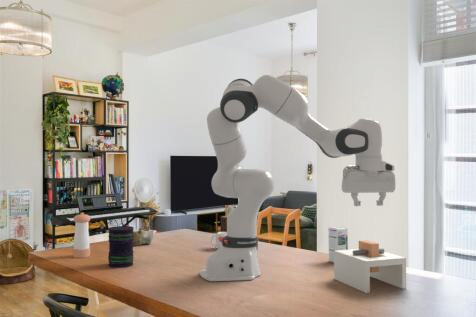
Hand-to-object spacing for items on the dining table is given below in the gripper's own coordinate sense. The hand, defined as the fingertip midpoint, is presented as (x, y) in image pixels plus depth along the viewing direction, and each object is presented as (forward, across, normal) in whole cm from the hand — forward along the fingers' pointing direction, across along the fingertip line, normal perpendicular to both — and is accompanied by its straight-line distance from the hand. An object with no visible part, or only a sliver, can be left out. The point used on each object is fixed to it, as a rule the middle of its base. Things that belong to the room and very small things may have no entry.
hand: (368, 205), depth 145 cm
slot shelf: (+27, 0, 0) cm, 27 cm away
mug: (+27, -28, +75) cm, 85 cm away
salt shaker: (+27, -92, +78) cm, 124 cm away
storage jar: (+27, -78, +55) cm, 99 cm away
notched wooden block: (+22, 0, 0) cm, 22 cm away
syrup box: (+27, +9, +32) cm, 43 cm away
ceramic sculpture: (+27, -65, +98) cm, 121 cm away
